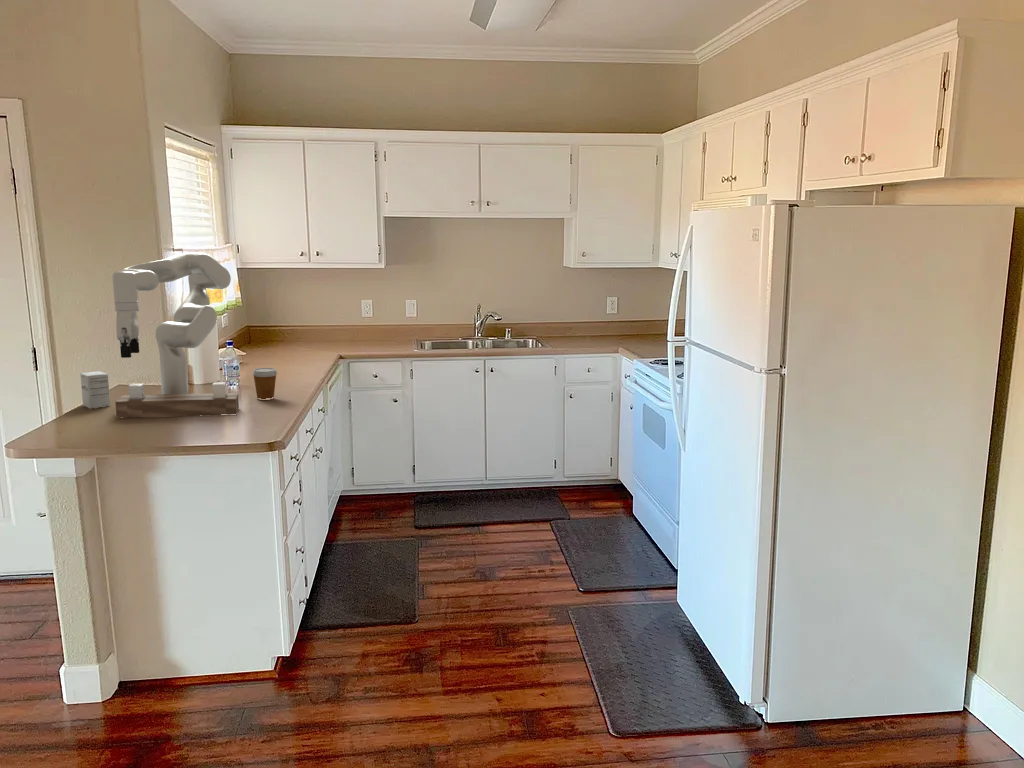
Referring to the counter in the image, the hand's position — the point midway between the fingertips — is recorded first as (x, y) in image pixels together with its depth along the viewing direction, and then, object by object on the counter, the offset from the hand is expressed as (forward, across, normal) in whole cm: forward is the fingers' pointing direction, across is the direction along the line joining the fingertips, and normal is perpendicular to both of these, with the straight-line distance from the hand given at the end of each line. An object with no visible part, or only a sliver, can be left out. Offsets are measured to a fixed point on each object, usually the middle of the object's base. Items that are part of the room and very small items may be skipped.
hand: (130, 355), depth 269 cm
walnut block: (+22, -2, +15) cm, 27 cm away
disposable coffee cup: (+23, -26, +42) cm, 54 cm away
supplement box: (+22, -16, -18) cm, 32 cm away
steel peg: (+17, -1, +1) cm, 17 cm away
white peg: (+17, -3, +29) cm, 34 cm away
